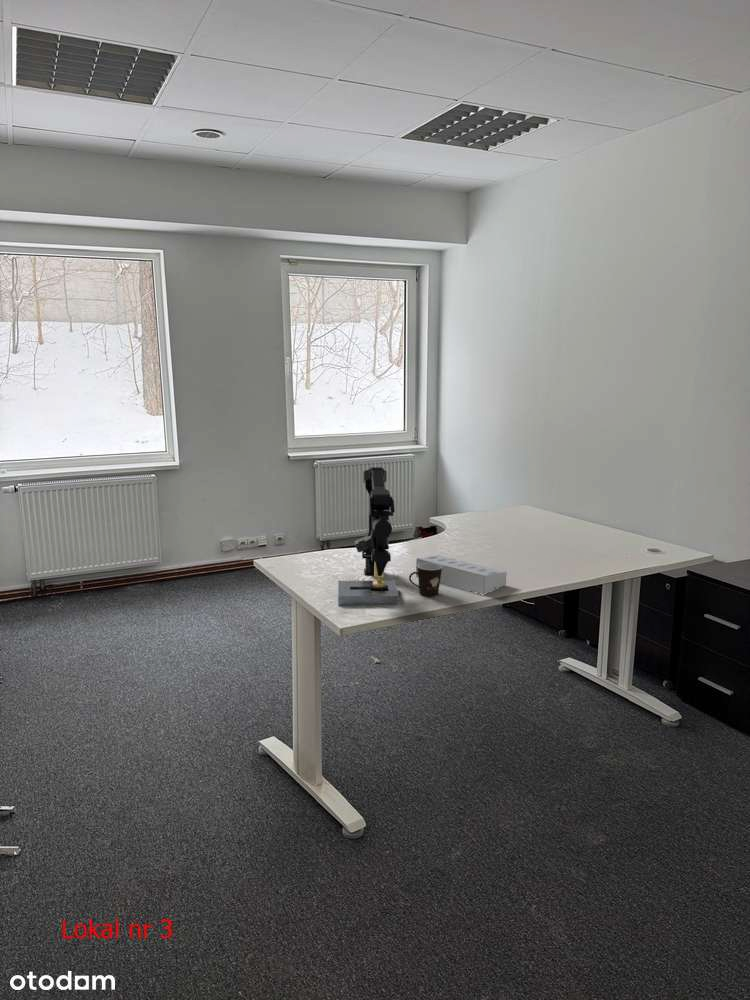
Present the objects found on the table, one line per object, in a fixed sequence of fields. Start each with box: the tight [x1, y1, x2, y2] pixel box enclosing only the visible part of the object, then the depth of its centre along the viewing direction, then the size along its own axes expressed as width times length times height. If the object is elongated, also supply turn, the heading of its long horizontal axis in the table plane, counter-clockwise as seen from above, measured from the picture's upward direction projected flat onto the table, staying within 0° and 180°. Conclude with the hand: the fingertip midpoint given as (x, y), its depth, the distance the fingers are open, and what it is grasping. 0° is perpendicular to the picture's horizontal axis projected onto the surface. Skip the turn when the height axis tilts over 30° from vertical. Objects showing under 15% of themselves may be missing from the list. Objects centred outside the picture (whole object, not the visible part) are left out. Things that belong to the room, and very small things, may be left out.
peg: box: [372, 562, 386, 587], centre depth 237 cm, size 4×4×10 cm
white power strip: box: [415, 555, 507, 594], centre depth 256 cm, size 30×14×8 cm, turn 48°
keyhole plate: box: [337, 580, 400, 606], centre depth 238 cm, size 16×20×3 cm
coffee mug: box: [408, 563, 442, 598], centre depth 242 cm, size 12×9×10 cm
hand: (379, 574), depth 237 cm, fingers closed on peg, 3 cm apart
